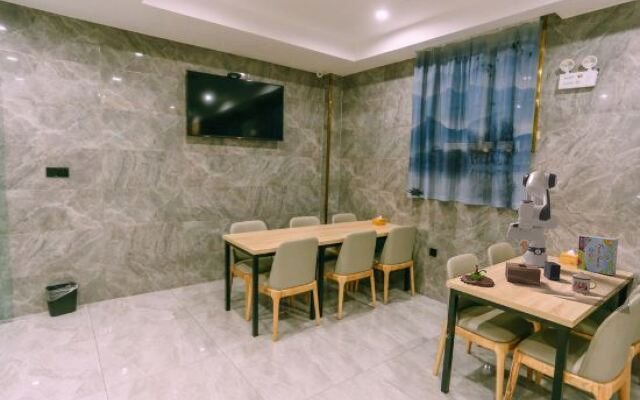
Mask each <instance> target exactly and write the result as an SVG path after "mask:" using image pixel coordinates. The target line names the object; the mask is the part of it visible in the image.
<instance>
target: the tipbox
mask: <svg viewBox="0 0 640 400" xmlns="http://www.w3.org/2000/svg"><path fill="white" fill-rule="evenodd" d="M541 271H542V269H540V268H539V267H538V266H537V265H530V264H523V263H519V262H509V261H505V272H504V274H505V275H504V277H505V279H506V282H509V283H513V284H514V283H515V284H521V285H527V286H529V285H530V286H535V287H537V286H538V287H540V286H541V275H542V273H541Z"/></svg>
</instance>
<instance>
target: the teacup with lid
mask: <svg viewBox="0 0 640 400" xmlns="http://www.w3.org/2000/svg"><path fill="white" fill-rule="evenodd" d="M571 277H572V278H571V279H572V281H571V284H572V285H571V290H572V292H576V293H578V294H590V290H595V289H596V288H597V286H598V284H597V282H595V281H594V280H591V279H592V277H591V276H588V275H587V274H585V272H583V271H580V272H579V273H574V274H573V275H572V276H571ZM591 283H593V284H594V285H595V286H594V287H591Z"/></svg>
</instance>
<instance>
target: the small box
mask: <svg viewBox="0 0 640 400" xmlns="http://www.w3.org/2000/svg"><path fill="white" fill-rule="evenodd" d="M561 267H562V266H561V264H559V263H557V262H555V261H549V260H548V261H545V262H544V267H543V275H544V277H545V278H547V280H548V281H560V279H561Z"/></svg>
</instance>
